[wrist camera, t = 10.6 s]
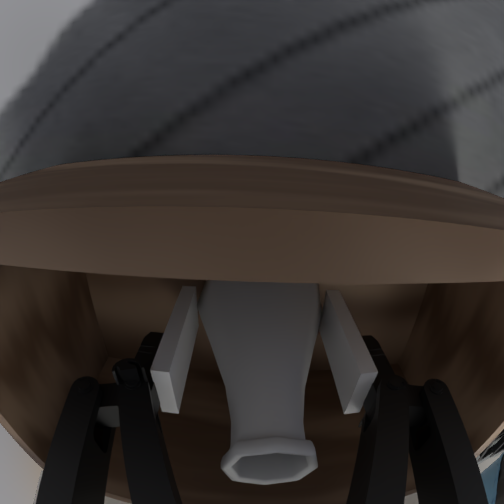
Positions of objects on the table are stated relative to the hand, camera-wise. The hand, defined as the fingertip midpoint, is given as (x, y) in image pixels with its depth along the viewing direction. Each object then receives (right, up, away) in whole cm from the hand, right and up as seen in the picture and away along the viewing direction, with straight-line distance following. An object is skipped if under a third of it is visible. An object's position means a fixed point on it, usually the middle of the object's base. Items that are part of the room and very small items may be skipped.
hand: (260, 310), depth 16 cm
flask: (0, 0, 0) cm, 1 cm away
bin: (0, +1, +2) cm, 2 cm away
